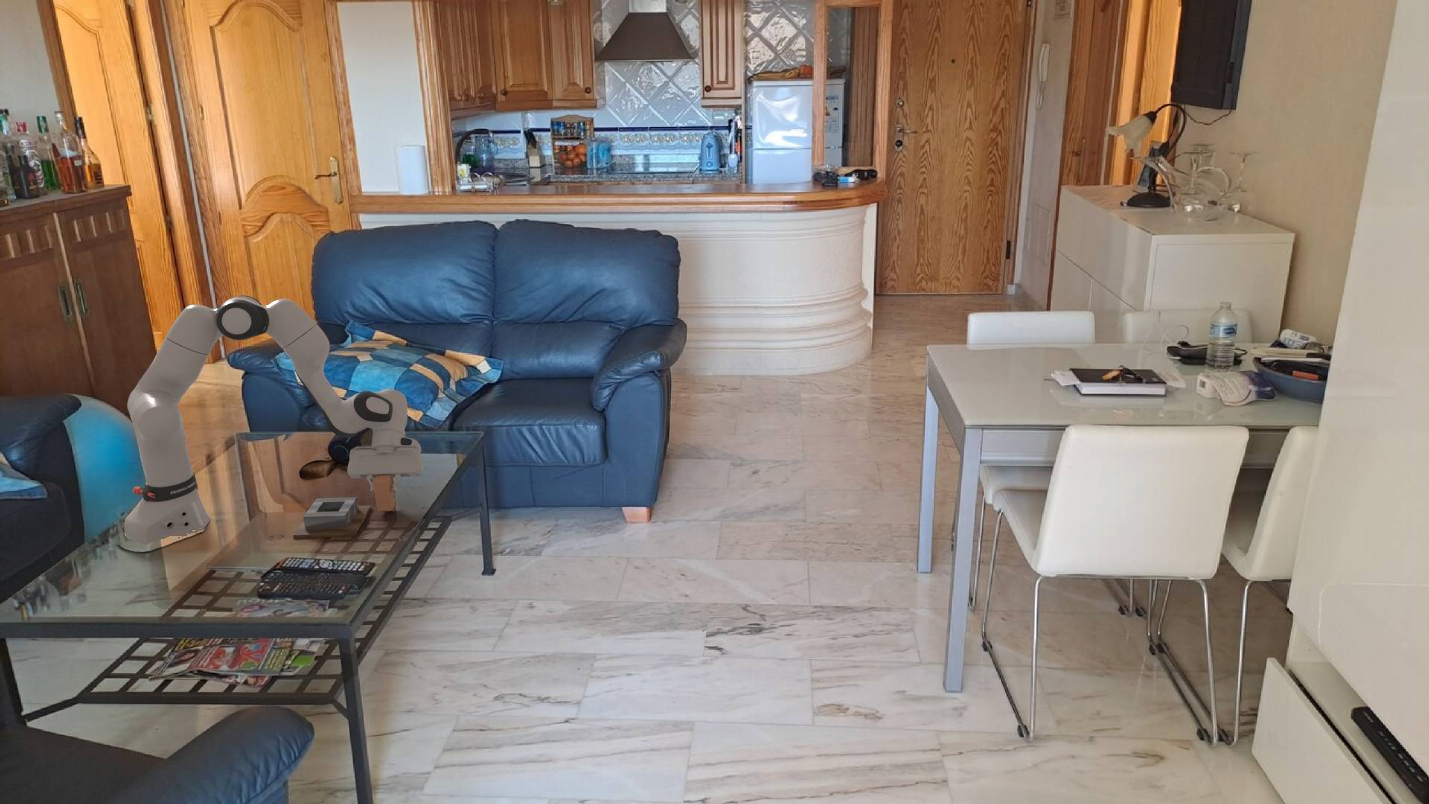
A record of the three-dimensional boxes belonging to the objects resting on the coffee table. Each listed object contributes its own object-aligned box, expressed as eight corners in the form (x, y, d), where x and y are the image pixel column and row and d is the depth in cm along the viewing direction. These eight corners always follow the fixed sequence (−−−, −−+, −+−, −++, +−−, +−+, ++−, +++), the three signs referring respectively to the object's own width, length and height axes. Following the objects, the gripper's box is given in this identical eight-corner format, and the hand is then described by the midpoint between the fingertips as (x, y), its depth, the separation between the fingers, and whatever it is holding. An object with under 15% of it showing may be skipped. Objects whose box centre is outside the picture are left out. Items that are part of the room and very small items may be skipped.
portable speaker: (356, 468, 300) (351, 438, 296) (326, 466, 301) (321, 436, 298) (393, 436, 323) (389, 408, 320) (365, 435, 325) (361, 407, 321)
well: (354, 536, 259) (351, 519, 257) (293, 538, 258) (290, 521, 256) (371, 508, 274) (368, 492, 272) (313, 510, 273) (310, 494, 271)
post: (391, 510, 269) (387, 481, 266) (377, 511, 269) (372, 481, 266) (395, 504, 273) (391, 474, 270) (381, 504, 273) (376, 475, 270)
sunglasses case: (327, 477, 293) (313, 460, 291) (309, 488, 295) (295, 471, 293) (347, 453, 310) (333, 437, 308) (330, 464, 311) (316, 448, 309)
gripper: (347, 442, 271) (341, 488, 265) (421, 439, 272) (417, 486, 266) (354, 450, 277) (348, 496, 271) (426, 448, 278) (423, 494, 272)
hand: (383, 491), depth 269 cm, fingers closed on post, 4 cm apart
